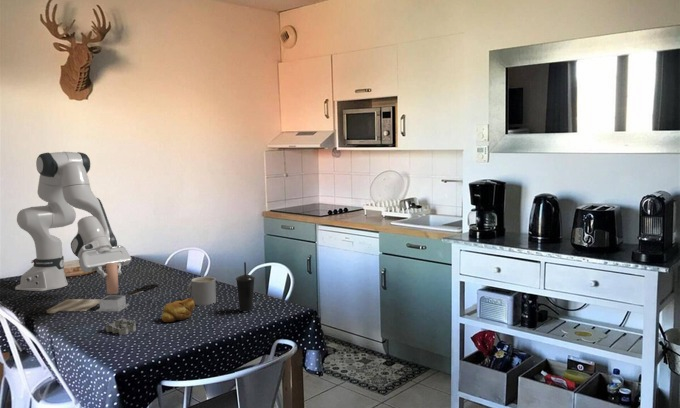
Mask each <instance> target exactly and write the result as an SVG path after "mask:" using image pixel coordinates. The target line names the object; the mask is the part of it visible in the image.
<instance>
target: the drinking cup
mask: <svg viewBox="0 0 680 408" xmlns="http://www.w3.org/2000/svg"><path fill="white" fill-rule="evenodd" d="M243 264H244V265H243V267H244V269H243V270H244V273H243V274H241V275H239V276H237V277H235V280H236V288H237V296H238V303H239V304H238V305H239V311H240V310H241V311H249V310H251V309H252V310H253V301H254V289H255V279H256V277H255V276H254V275H251V274H247V262H243Z"/></svg>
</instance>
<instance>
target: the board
mask: <svg viewBox="0 0 680 408" xmlns="http://www.w3.org/2000/svg"><path fill="white" fill-rule="evenodd" d="M101 299H102V298H101ZM101 299H99V298H98V299H97V298H96V299H91V298H89V299H88V298H85V299H82V298H80V299H79V298H77V299H76V298H72V299H71V298H70V299H69V298H67V299H65V300H64V301H61V302H60V303H58V304H56V305H53V306H52V307H49V308H48V309H46V314H56V313H57V312H87V311H88V310H90V309H91V308H93V307H95V306H96V305H98V304H100V300H101Z"/></svg>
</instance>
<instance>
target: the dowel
mask: <svg viewBox="0 0 680 408" xmlns="http://www.w3.org/2000/svg"><path fill="white" fill-rule="evenodd" d="M105 272H107V274H108V276H107V277H106V278H105V279H106V280H105V281H106V282H105V283H106V284H105V285H106V294H108V295H115V294H118V293H119V275H118V268H117V263H115V262H112V263H107V264H106V269H105Z"/></svg>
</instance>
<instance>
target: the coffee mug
mask: <svg viewBox="0 0 680 408" xmlns="http://www.w3.org/2000/svg"><path fill="white" fill-rule="evenodd" d="M216 289H217V288H216V278H215V277H213V276H201V277H200V276H199V277H194V278H192V279H191V281H190V282H189V283H188V292H189V294H190V295H191V298H192V299H193V301H194V306H200V307H201V306H210V304H211V305H214V304H216V301H217V296H216V295H217V293H216V292H217V290H216ZM213 303H214V304H213Z"/></svg>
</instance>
